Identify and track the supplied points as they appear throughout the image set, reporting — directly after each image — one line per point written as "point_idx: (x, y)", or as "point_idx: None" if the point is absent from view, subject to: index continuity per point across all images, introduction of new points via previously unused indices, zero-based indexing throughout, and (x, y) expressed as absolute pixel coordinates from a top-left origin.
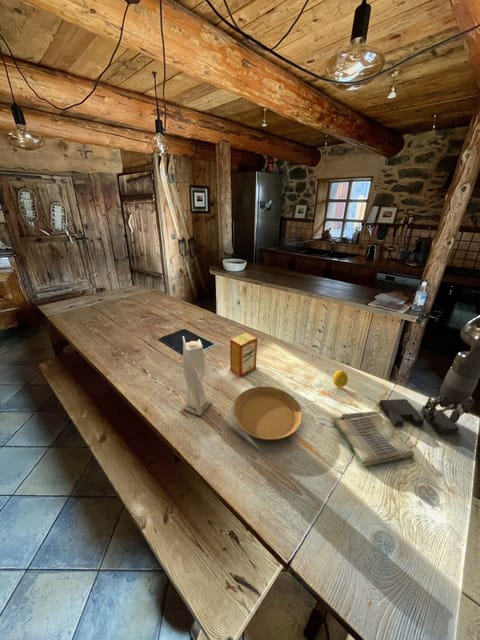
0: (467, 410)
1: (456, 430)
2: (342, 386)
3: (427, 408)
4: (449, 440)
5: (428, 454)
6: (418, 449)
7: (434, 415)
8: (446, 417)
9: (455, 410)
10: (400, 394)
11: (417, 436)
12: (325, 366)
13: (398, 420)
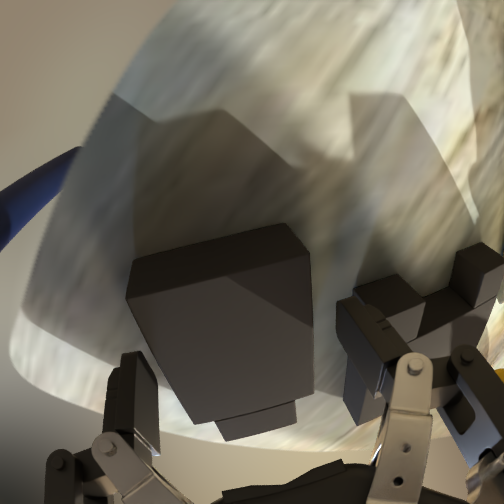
0: (66, 486)
1: (148, 277)
2: (499, 373)
3: (459, 399)
4: (237, 170)
5: (448, 52)
6: (473, 92)
7: (422, 359)
8: (189, 384)
9: (149, 462)
10: (316, 437)
11: (436, 184)
12: None
13: (501, 266)
